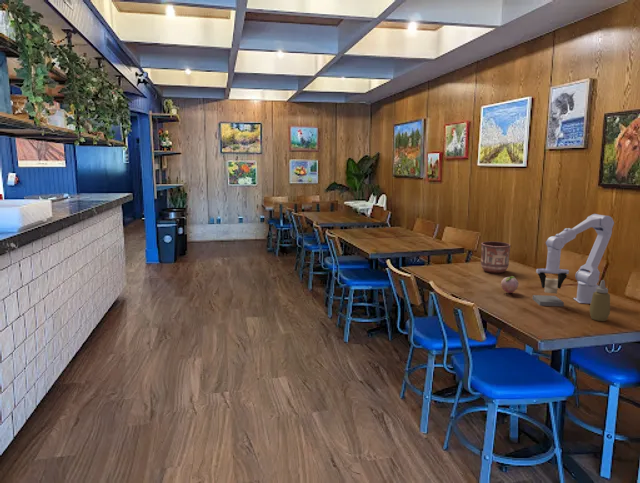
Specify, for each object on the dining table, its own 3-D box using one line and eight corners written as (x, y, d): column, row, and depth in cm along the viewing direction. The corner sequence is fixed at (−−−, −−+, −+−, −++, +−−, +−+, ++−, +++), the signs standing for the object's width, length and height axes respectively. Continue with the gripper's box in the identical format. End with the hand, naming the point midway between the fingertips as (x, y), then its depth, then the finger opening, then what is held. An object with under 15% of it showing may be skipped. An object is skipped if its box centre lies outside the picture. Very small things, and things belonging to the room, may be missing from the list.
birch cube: (556, 290, 229) (557, 279, 228) (556, 293, 224) (558, 281, 223) (544, 289, 231) (545, 277, 230) (544, 292, 226) (545, 280, 225)
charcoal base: (554, 300, 235) (555, 295, 234) (563, 307, 224) (563, 302, 223) (532, 299, 236) (532, 295, 235) (539, 306, 225) (540, 301, 225)
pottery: (473, 269, 298) (474, 242, 295) (493, 267, 305) (495, 240, 302) (493, 276, 282) (496, 247, 279) (514, 273, 290) (517, 245, 286)
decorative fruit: (503, 290, 251) (504, 272, 250) (519, 292, 246) (520, 274, 245) (497, 294, 244) (499, 275, 243) (513, 296, 239) (515, 278, 237)
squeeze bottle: (601, 316, 210) (606, 277, 206) (613, 322, 202) (618, 282, 199) (584, 316, 209) (588, 278, 206) (595, 322, 201) (599, 282, 198)
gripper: (565, 259, 228) (563, 286, 230) (535, 258, 230) (532, 285, 232) (571, 262, 221) (568, 289, 223) (539, 261, 223) (537, 288, 225)
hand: (550, 287), depth 227 cm, fingers closed on birch cube, 7 cm apart
